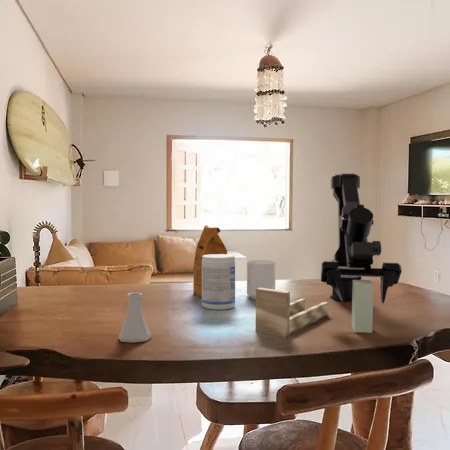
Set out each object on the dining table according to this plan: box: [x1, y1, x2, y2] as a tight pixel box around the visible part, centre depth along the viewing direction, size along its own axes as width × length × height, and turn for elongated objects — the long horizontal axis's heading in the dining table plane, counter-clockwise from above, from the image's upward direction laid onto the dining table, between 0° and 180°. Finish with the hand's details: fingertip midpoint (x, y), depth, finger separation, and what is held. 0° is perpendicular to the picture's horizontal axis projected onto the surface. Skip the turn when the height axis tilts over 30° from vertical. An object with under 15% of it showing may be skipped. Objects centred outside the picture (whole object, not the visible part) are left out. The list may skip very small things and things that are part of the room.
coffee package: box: [192, 225, 228, 298], centre depth 150 cm, size 10×12×22 cm
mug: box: [246, 259, 277, 300], centre depth 149 cm, size 12×9×11 cm
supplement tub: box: [201, 253, 236, 311], centre depth 134 cm, size 10×10×15 cm
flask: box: [118, 292, 152, 344], centre depth 104 cm, size 7×7×10 cm
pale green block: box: [351, 279, 375, 334], centre depth 112 cm, size 5×4×12 cm
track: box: [255, 288, 329, 338], centre depth 117 cm, size 24×8×10 cm, turn 145°
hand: (363, 301), depth 111 cm, fingers open, 9 cm apart
